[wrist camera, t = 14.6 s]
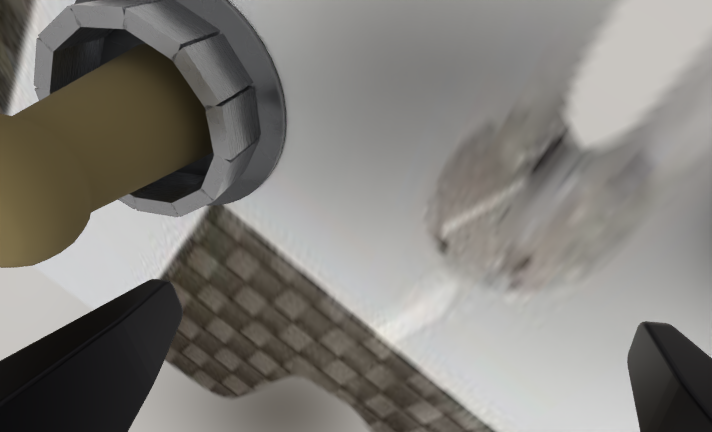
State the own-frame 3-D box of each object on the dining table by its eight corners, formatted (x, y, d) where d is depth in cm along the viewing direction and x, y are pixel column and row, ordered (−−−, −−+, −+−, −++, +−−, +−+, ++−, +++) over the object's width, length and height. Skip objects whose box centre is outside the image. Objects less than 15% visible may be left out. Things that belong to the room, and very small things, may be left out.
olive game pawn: (108, 115, 24) (-128, 225, 15) (133, 14, 20) (-158, 78, 11) (204, 180, 24) (31, 324, 15) (244, 92, 21) (50, 213, 12)
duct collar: (272, -33, 18) (229, -27, 15) (295, 214, 24) (268, 251, 22) (37, -37, 21) (-37, -32, 18) (114, 187, 27) (68, 216, 24)
